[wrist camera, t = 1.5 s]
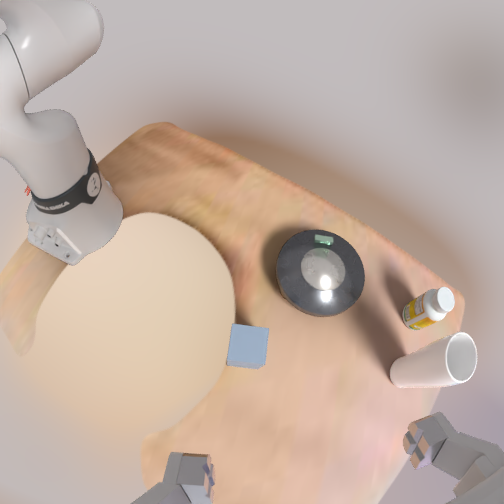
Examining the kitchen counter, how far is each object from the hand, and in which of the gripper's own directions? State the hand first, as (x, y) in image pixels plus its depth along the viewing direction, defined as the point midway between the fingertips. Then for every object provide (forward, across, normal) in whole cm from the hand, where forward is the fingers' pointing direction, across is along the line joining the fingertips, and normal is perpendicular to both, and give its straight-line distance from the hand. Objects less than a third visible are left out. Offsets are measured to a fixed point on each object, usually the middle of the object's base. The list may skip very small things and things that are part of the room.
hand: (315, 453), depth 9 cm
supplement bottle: (+33, -26, +13) cm, 44 cm away
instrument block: (+28, +4, +13) cm, 31 cm away
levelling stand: (+36, -8, +5) cm, 37 cm away
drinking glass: (+26, -21, +20) cm, 39 cm away
